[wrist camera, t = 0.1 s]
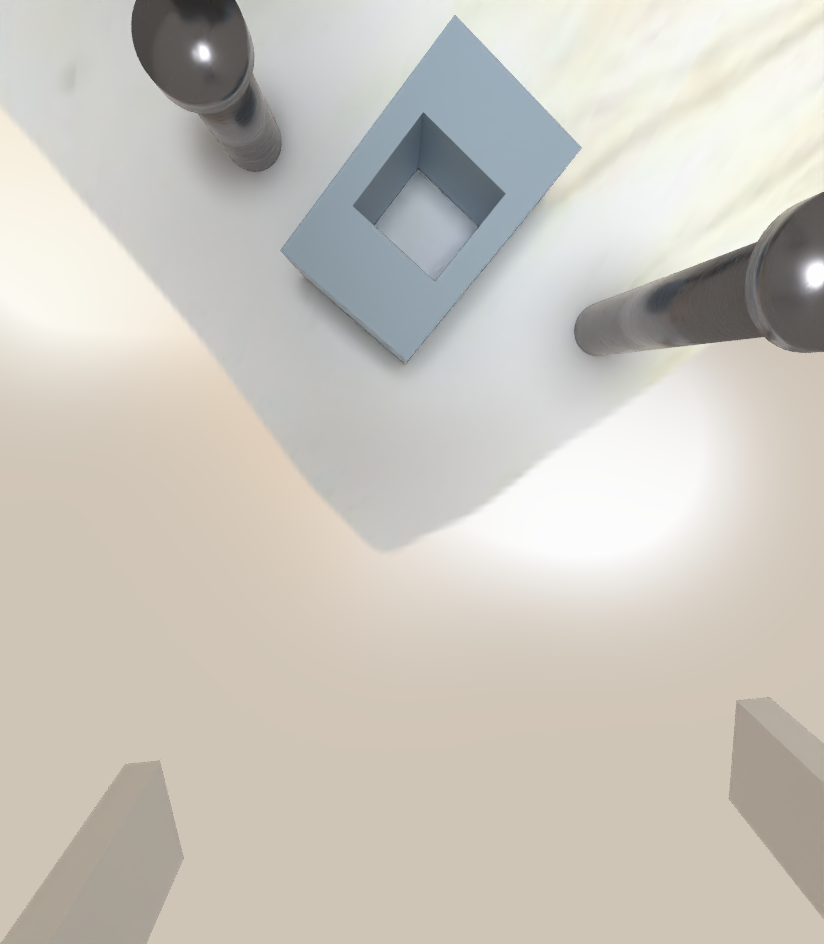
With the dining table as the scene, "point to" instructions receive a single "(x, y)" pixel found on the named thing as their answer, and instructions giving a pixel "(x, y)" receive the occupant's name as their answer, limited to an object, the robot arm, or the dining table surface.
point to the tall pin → (726, 296)
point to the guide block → (450, 168)
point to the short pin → (209, 72)
